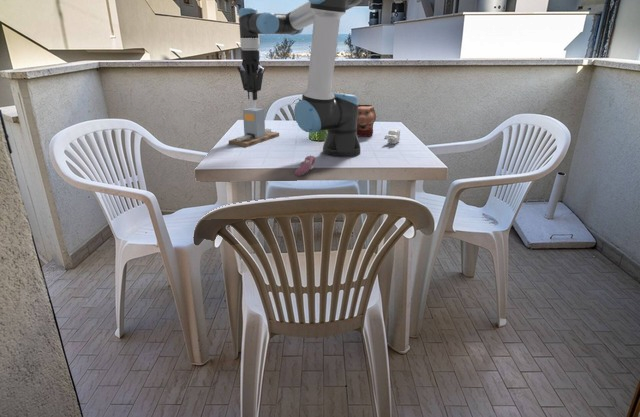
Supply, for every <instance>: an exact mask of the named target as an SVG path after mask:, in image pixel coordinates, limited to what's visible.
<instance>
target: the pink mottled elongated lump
mask: <svg viewBox="0 0 640 417" xmlns="http://www.w3.org/2000/svg"><path fill="white" fill-rule="evenodd" d="M316 159H317V157H315V156H314V155H308V156H306V157H304V161H302V162H301V163H300V165H299V167H298V168H296V169H295V171H294V175H295V176H296V177H301V176H303V175H304V174H305V175H308V172H310V171H311V170H313V168H314V167H313V165H314V164H315V162H316Z"/></svg>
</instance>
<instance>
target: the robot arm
mask: <svg viewBox="0 0 640 417" xmlns="http://www.w3.org/2000/svg"><path fill="white" fill-rule="evenodd" d="M361 2H363V0H308V1H307V2H305V3H304V4H302V5H300V6H299V7H296V8H295V9H293V10H291V11H289V12H288V13H274V12H273V13H272V12H259V13H258V9H257V8H254V7H245V8H244V7H243V8H239V10H238V22H239V23H238V26H239V37H240V38H239V40H240V49H241V50H240V56H241V57H240V58H241V60H242V62H241V65H240V66H237V70H238V72H239V76H240V79H241V83H242V88H243V90H244V91H246V92H247V99H248V101H249V108H257V100H258V92H259V91H262V86H263V79H264V78H263V77H264V73H265V70H266V68H265V67H263V66H262V65H261V63H260V58H261V57H260V56H261V55H260V51H259V49H260V39H259V38H260V37H259V36H260V35H266V36H267V35H291V36H294V35H299V34H301V33H302V32H303V30H304V28H306V27H308V26H310V25H311V26H312V35H311V47H310V55H309V64H308V65H309V66H308V76H307V88H305V90H304V91H302V95H301V96H302V97H301V100H299V101H297V103H296V104H295V106H294V108H293V109H294V110H293V111H294V113H293V114H294V115H293V116H294V119H295V122H296V123H297V125H298V127H299V128H300V130H302V131H303V132H306V133H318V132H321V131H326V132H327V133H326V136H325V138H324V142H323V145H322V153H323V154H324V155H327V156H329V157H334V158H336V157H337V158H348V157H356V156H359V155H360V154H361V144H360V140H359V138H358V137H359V136H357V117H358V105H359V101H358V100H359V98H358V96H357V95H355V94H349V93H342V92H332V89H333V88H332V86H333V78H334V70H335V63H336V55H337V54H336V53H337V47H338V46H337V45H338V38H339V32H340V22H341V18H342V17H343V16H344V15H345V14H346V11H348V10H350V9H352V8H354V7H357V5H360V4H361Z"/></svg>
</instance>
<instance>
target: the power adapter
mask: <svg viewBox="0 0 640 417" xmlns="http://www.w3.org/2000/svg"><path fill="white" fill-rule="evenodd" d="M400 136H401V129H399V128H391V129H389V130H388V134H386V135H384V140H387V143H388V144H393V145H396V144H398V143H400V139H401V138H400Z"/></svg>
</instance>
